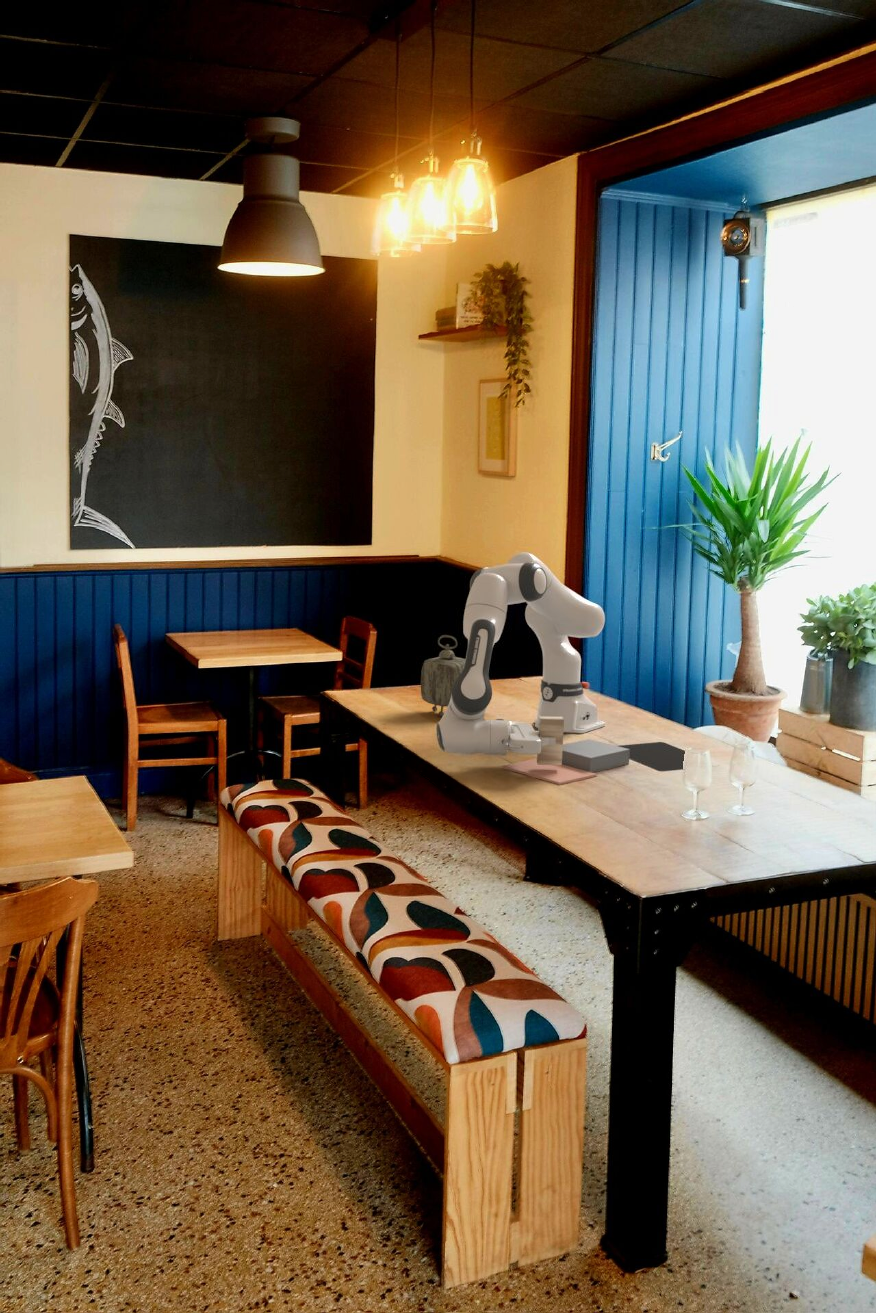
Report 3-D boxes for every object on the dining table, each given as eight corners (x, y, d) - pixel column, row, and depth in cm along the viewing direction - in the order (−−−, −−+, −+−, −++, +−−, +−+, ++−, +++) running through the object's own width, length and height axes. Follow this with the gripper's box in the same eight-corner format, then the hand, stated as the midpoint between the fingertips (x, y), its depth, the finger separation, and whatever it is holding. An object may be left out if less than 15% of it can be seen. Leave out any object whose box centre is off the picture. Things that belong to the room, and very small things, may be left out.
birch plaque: (536, 761, 316) (538, 716, 314) (559, 762, 317) (562, 716, 315) (538, 764, 313) (540, 719, 311) (561, 765, 314) (564, 719, 312)
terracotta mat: (538, 760, 327) (538, 757, 327) (596, 776, 313) (596, 773, 313) (502, 767, 318) (502, 765, 318) (559, 784, 304) (560, 782, 304)
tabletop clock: (472, 716, 378) (475, 636, 374) (456, 721, 371) (459, 639, 367) (432, 709, 386) (435, 631, 382) (416, 714, 379) (419, 634, 374)
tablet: (603, 746, 344) (662, 741, 352) (603, 749, 344) (661, 743, 352) (660, 771, 320) (721, 765, 328) (659, 773, 320) (721, 767, 329)
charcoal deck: (588, 753, 337) (589, 739, 336) (628, 763, 327) (629, 749, 326) (549, 761, 326) (550, 747, 325) (589, 773, 316) (590, 757, 315)
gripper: (505, 735, 302) (561, 736, 303) (496, 717, 323) (548, 718, 324) (504, 759, 303) (559, 760, 304) (495, 740, 324) (547, 741, 325)
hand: (553, 738), depth 314 cm, fingers closed on birch plaque, 3 cm apart
